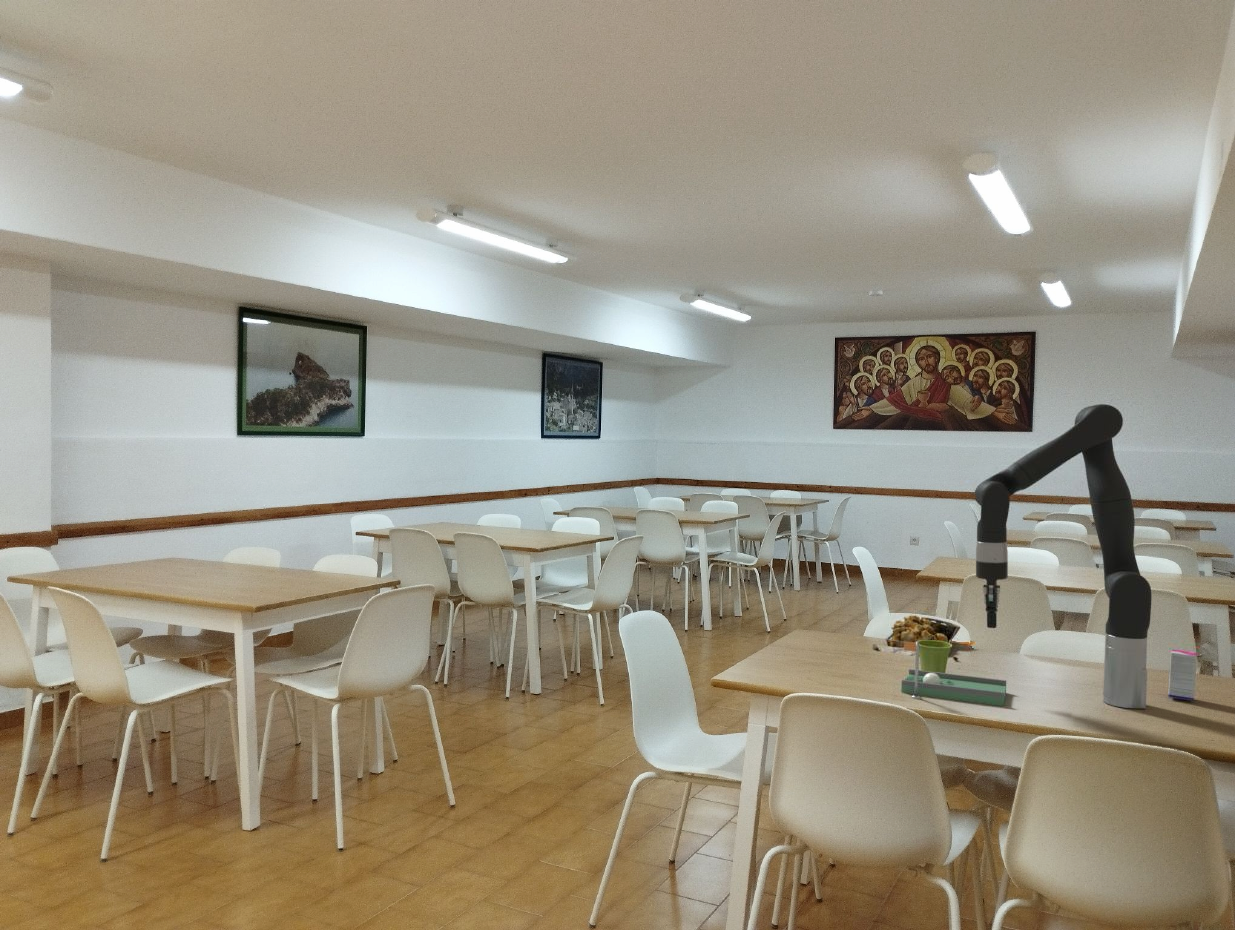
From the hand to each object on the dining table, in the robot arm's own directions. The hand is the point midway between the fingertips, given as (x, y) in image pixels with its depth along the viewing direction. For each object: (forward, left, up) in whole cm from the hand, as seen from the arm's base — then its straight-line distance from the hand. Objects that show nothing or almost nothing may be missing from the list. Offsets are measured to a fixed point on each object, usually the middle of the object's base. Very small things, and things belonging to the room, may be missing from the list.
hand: (991, 627), depth 239 cm
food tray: (+22, -53, -18) cm, 60 cm away
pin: (+16, +14, -17) cm, 28 cm away
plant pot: (+15, -14, -17) cm, 27 cm away
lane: (+8, +4, -17) cm, 19 cm away
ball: (+14, +4, -15) cm, 21 cm away
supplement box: (-45, -23, -17) cm, 53 cm away
